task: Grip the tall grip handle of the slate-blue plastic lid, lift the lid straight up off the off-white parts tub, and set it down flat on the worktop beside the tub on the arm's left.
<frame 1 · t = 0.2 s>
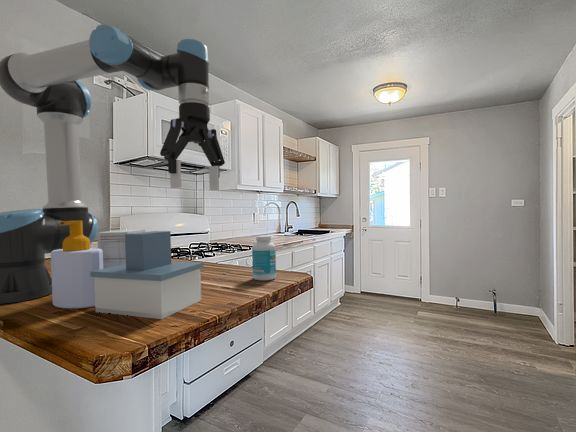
hand: (196, 189, 82), 28 cm above the worktop, tool pointing down, fingers open, 13 cm apart
supplement box: (124, 289, 93), on the worktop
lid: (149, 271, 75), point 8 cm above the worktop, touching tub
soap bottle: (79, 304, 78), on the worktop
tub: (151, 305, 75), on the worktop
pill bottle: (264, 279, 102), on the worktop
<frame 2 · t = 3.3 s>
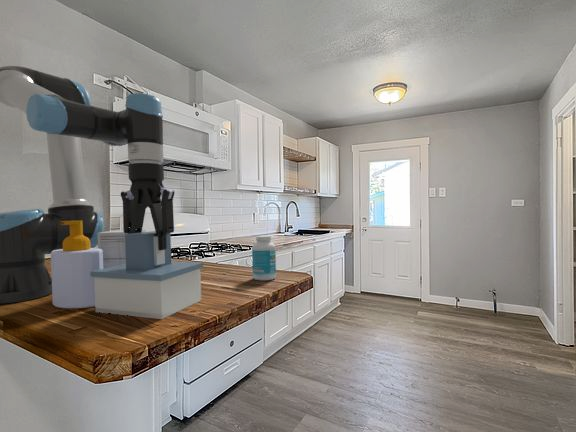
hand: (149, 263, 75), 10 cm above the worktop, tool pointing down, fingers closed on lid, 5 cm apart
lid: (149, 271, 75), point 8 cm above the worktop, touching gripper, tub
everything else where it was.
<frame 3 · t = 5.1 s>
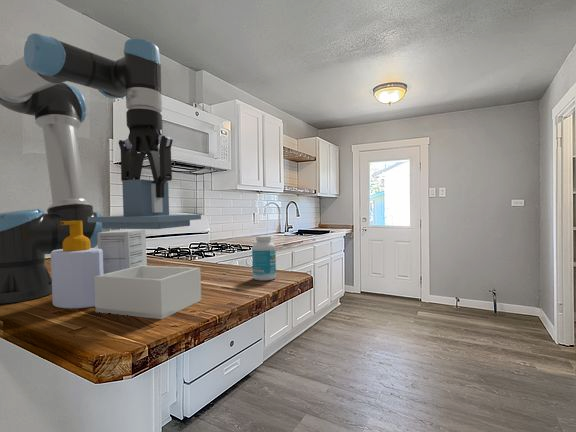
hand: (147, 212, 75), 22 cm above the worktop, tool pointing down, fingers closed on lid, 5 cm apart
lid: (147, 220, 75), point 20 cm above the worktop, touching gripper
everything else where it was.
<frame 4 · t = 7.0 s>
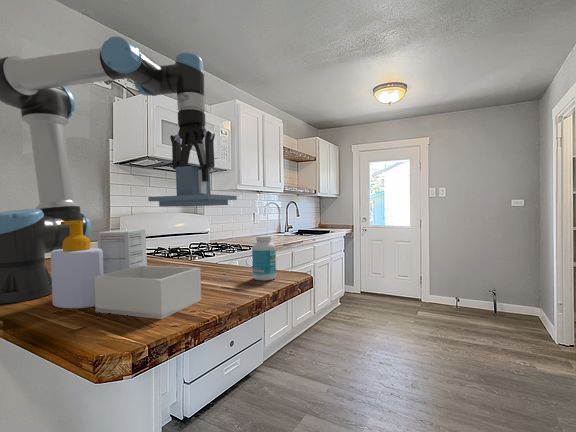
hand: (194, 193, 92), 27 cm above the worktop, tool pointing down, fingers closed on lid, 5 cm apart
lid: (194, 200, 92), point 25 cm above the worktop, touching gripper
everything else where it was.
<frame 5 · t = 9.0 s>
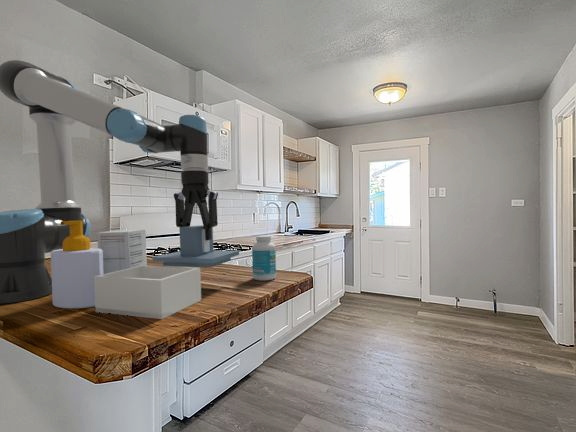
hand: (197, 251, 93), 10 cm above the worktop, tool pointing down, fingers closed on lid, 5 cm apart
lid: (197, 258, 93), point 8 cm above the worktop, touching gripper
everything else where it was.
when the fingers open (5 cm above the worktop, at t = 10.7 s): lid drops 1 cm, point 1 cm above the worktop.
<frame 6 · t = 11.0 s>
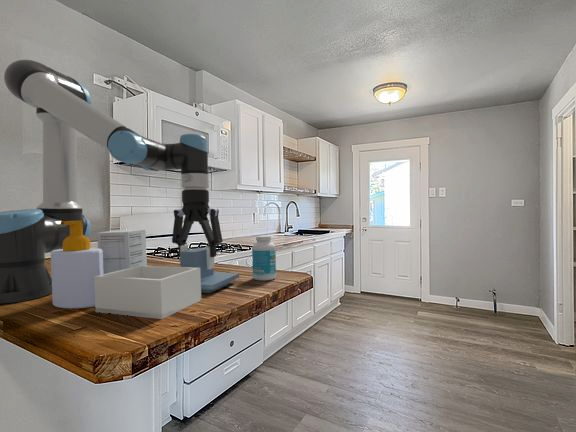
hand: (197, 267, 93), 5 cm above the worktop, tool pointing down, fingers open, 8 cm apart
lid: (197, 281, 93), point 1 cm above the worktop
everything else where it was.
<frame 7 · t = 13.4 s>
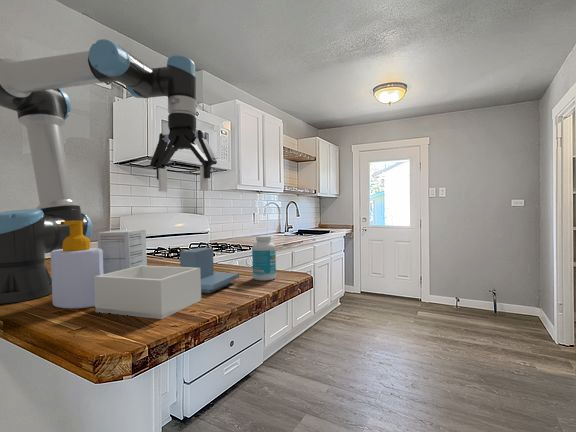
hand: (183, 191, 91), 28 cm above the worktop, tool pointing down, fingers open, 13 cm apart
nothing on the worktop moved.
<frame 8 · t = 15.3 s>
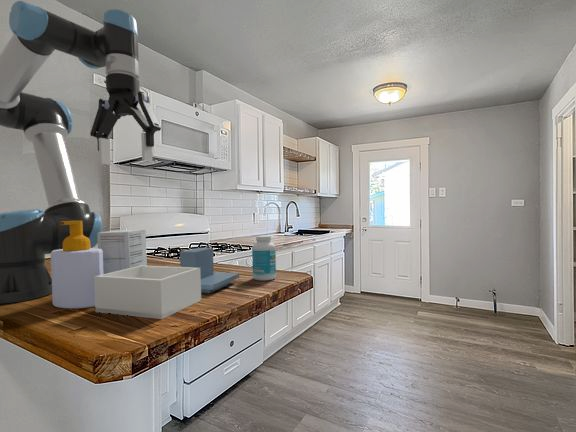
hand: (125, 162, 81), 35 cm above the worktop, tool pointing down, fingers open, 13 cm apart
nothing on the worktop moved.
at the end: lid inside the target area (0.0 cm from its centre), point 1.5 cm above the worktop; lid tilted 0°; lid touching worktop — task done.
